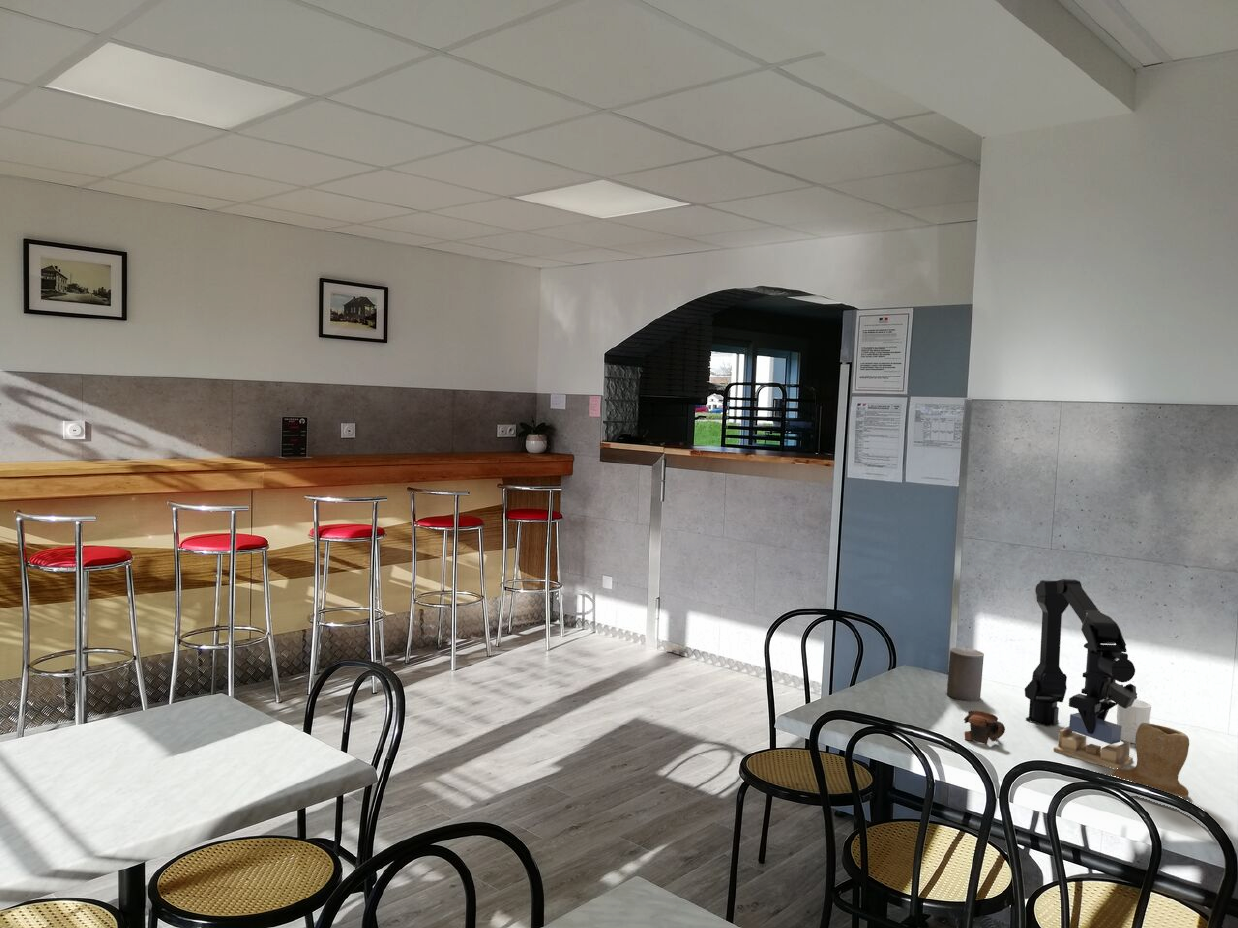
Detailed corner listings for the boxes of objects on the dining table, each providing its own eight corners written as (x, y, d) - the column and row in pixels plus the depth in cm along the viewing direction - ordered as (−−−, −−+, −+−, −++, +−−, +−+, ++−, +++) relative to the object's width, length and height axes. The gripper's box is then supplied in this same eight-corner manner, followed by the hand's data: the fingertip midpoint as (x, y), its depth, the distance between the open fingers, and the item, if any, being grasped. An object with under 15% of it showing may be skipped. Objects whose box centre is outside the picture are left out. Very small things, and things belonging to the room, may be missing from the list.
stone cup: (1190, 790, 212) (1195, 726, 211) (1186, 807, 202) (1191, 740, 201) (1116, 773, 221) (1121, 711, 220) (1108, 788, 211) (1113, 724, 210)
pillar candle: (941, 695, 277) (945, 646, 276) (953, 688, 285) (957, 641, 284) (974, 703, 271) (977, 653, 270) (985, 696, 279) (989, 647, 277)
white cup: (1153, 746, 241) (1156, 708, 240) (1120, 742, 242) (1123, 705, 242) (1142, 736, 248) (1145, 699, 248) (1110, 732, 250) (1113, 696, 249)
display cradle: (1116, 769, 223) (1117, 749, 222) (1053, 750, 234) (1055, 731, 234) (1132, 760, 229) (1134, 741, 229) (1070, 742, 240) (1072, 724, 240)
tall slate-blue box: (1069, 729, 235) (1070, 714, 235) (1078, 727, 237) (1079, 712, 237) (1110, 744, 226) (1112, 728, 225) (1120, 741, 228) (1121, 725, 227)
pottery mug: (952, 738, 242) (957, 707, 245) (975, 750, 246) (980, 719, 249) (992, 741, 232) (997, 709, 235) (1015, 753, 236) (1019, 721, 239)
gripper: (1118, 684, 218) (1113, 749, 219) (1148, 672, 230) (1143, 733, 231) (1070, 673, 226) (1065, 735, 227) (1101, 661, 239) (1097, 720, 240)
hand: (1094, 731), depth 231 cm, fingers closed on tall slate-blue box, 4 cm apart
